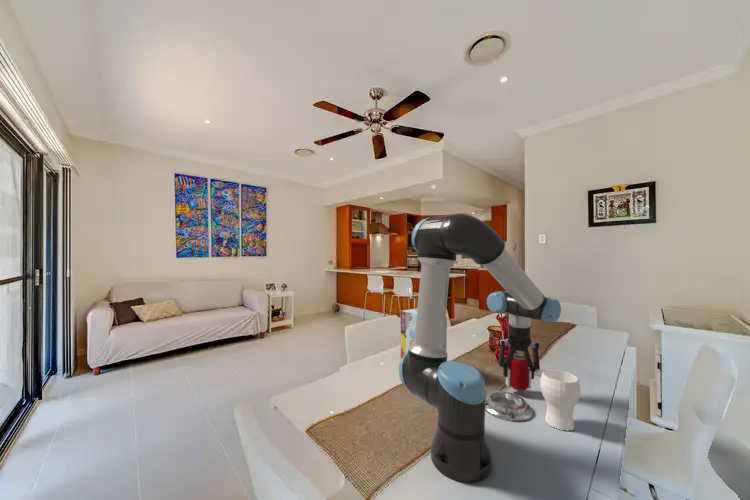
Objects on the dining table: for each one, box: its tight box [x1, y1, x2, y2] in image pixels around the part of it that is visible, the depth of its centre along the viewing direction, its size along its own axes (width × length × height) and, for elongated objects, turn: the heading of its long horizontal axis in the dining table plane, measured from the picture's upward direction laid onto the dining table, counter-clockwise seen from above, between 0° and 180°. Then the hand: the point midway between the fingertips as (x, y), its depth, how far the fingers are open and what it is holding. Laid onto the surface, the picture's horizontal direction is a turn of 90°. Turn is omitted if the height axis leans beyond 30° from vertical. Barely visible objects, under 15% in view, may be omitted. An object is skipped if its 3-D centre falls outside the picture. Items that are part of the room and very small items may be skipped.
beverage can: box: [509, 353, 529, 392], centre depth 111 cm, size 7×7×12 cm
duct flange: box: [485, 390, 534, 423], centre depth 100 cm, size 16×16×3 cm
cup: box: [539, 369, 581, 432], centre depth 91 cm, size 11×11×15 cm
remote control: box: [534, 368, 546, 378], centre depth 128 cm, size 7×16×3 cm, turn 51°
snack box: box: [400, 308, 448, 360], centre depth 131 cm, size 22×9×26 cm, turn 36°
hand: (518, 386), depth 111 cm, fingers closed on beverage can, 7 cm apart
